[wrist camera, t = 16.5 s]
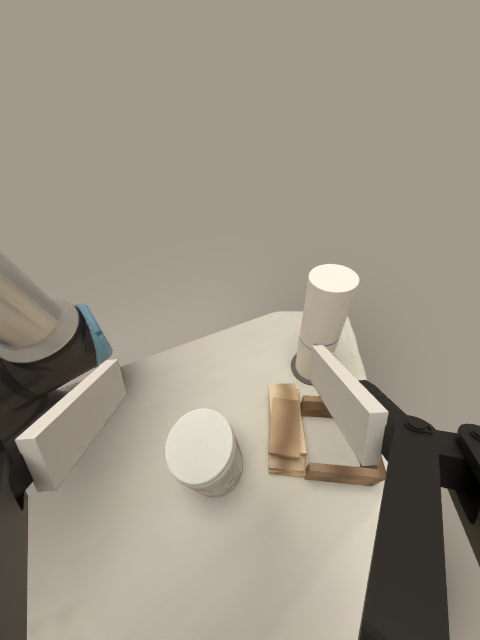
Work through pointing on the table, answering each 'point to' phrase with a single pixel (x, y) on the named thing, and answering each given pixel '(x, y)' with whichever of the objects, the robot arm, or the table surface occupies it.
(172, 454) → the supplement tub
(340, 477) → the offcut rack
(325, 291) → the cylindrical container
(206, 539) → the table surface
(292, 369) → the rubber mat
